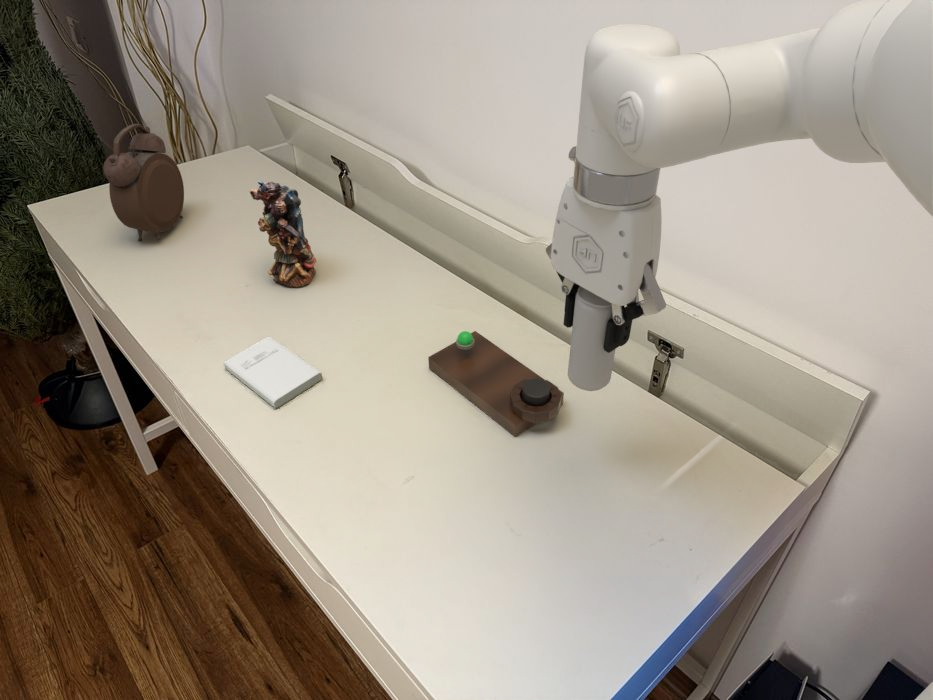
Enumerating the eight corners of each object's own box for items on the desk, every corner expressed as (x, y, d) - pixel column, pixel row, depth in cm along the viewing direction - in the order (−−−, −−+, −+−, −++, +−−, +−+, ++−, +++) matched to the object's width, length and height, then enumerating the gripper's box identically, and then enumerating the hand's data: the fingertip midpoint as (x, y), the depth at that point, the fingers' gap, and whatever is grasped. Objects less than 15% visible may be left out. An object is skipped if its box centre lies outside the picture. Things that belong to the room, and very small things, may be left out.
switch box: (575, 413, 93) (577, 391, 91) (527, 446, 89) (528, 425, 86) (475, 341, 105) (475, 321, 103) (428, 368, 101) (427, 347, 98)
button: (555, 397, 91) (556, 388, 90) (535, 411, 89) (536, 401, 88) (535, 383, 93) (536, 374, 92) (516, 396, 91) (516, 386, 90)
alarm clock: (162, 210, 138) (129, 111, 125) (196, 213, 137) (165, 113, 124) (120, 248, 127) (79, 144, 114) (156, 252, 126) (119, 147, 113)
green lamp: (478, 345, 99) (478, 333, 97) (464, 353, 97) (464, 341, 96) (466, 336, 100) (466, 324, 99) (452, 344, 99) (452, 332, 98)
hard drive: (275, 410, 95) (225, 369, 101) (323, 379, 99) (272, 342, 106) (273, 401, 94) (222, 361, 100) (321, 371, 98) (269, 334, 105)
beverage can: (613, 393, 77) (627, 306, 69) (569, 394, 77) (579, 306, 69) (606, 364, 80) (620, 278, 73) (565, 365, 80) (573, 279, 73)
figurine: (248, 291, 116) (222, 194, 105) (268, 262, 123) (246, 167, 111) (310, 297, 115) (290, 198, 103) (327, 266, 122) (310, 171, 110)
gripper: (519, 158, 66) (514, 312, 77) (668, 226, 56) (636, 390, 68) (573, 136, 69) (560, 286, 81) (721, 196, 59) (682, 356, 71)
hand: (595, 332), depth 74 cm, fingers closed on beverage can, 4 cm apart
